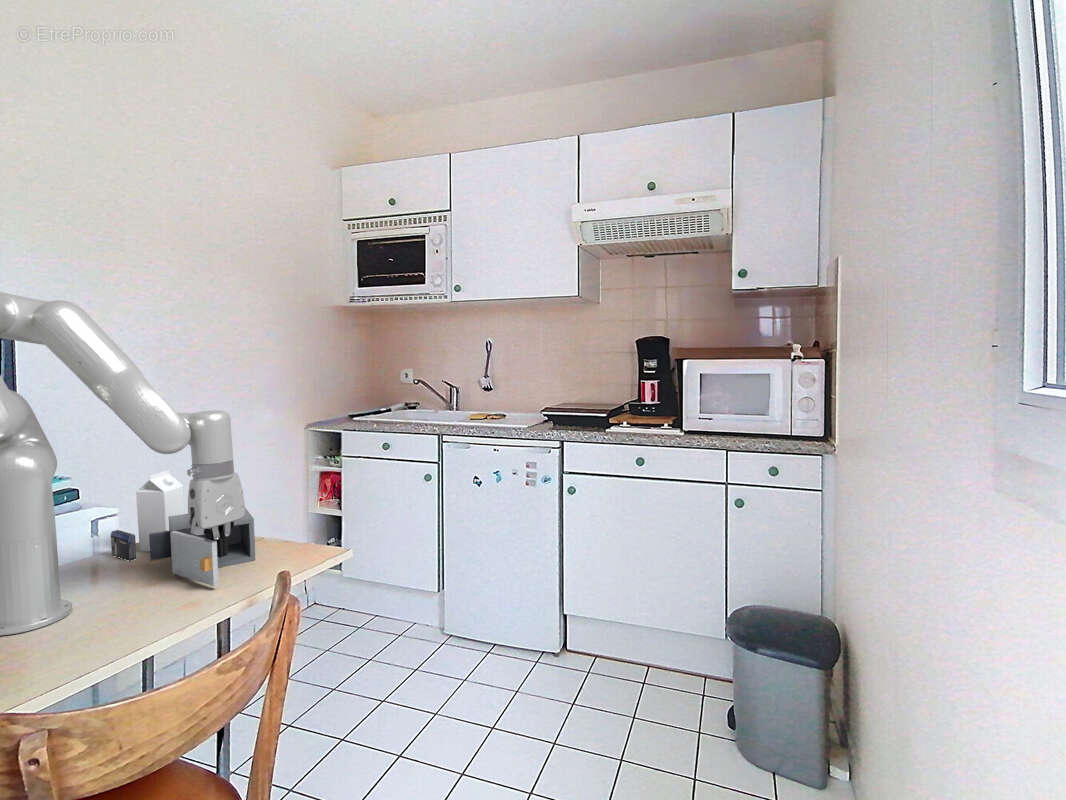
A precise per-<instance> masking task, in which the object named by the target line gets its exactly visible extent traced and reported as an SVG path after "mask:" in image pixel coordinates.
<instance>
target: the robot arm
mask: <svg viewBox="0 0 1066 800" xmlns="http://www.w3.org/2000/svg"><path fill="white" fill-rule="evenodd" d="M0 339H2V340H3V339H4V340H10V341H11V340H12V341H17V342H22V343H28V344H29V343H30V344H36V345H42V346H43V345H44V346H45V347H46V348H48V350H49V351H50V352H51V353H53V355H55V356H56V358H58V359H59V360H60V361H61V363H63V364H64V365H65V366H66V367H67V368H68V369H69V370H70V371H71V372H72V373H73V374H74V375H75V376H76V377H77V378H78V379H79V380H80V381H81V382H82V383H83V384H84V385H85V386H86V387H87V388H88V390H90V391H91V392H92V393H93V395H94V396H95V397H96V398H98V400H99V401H101V402H102V403H103V404H105V405H106V406H107V407H108V408H109V409H110V410H111V411H112V412H113V413H114V414H115V415H116V416H117V417H118V418H119V419H120V420H121V421H122V423H124V424H125V425H126V426H127V427H128V428H129V429H130V430H131V431H132V432H133V433H134V435H136V436H137V437H138V438H139V439H140V440H141V441H142V442H143V443H144V444H145V445H146V446H147V447H148V448H149V449H150V450H151V451H154V452H156V453H158V454H162V455H172V454H176V453H178V452H181V451H182V450H184V449H185V448H186V447H187V446H188V445H189V446H190V452H191V453H190V454H191V468H189V469H187V470H186V474H187V476H188V477H191V476H192V479H190V480H189V485H188V495H187V514H188V520H189V524H190V526H192V527H191V534H193V535H204V536H206V538H209V540H213V541H217V557H219V558H221V557H223V556H226V555H228V551H227V549H228V542H227V536H229V535H230V530H231V529H232V527H233V526H234V525H235V524H237V523H239V522H241V520H242V517H243V516H244V515H245V508H246V505H245V496H244V491H243V490H244V489H243V486H242V483H241V478H240V477H239V473H238V472H235V468H234V467H235V464H234V456H233V453H234V452H233V450H234V449H233V438H232V437H233V436H232V424H231V423H232V422H231V421H232V419H231V415H230V414H229V413H228V412H227V411H225V410H204V411H202V410H201V411H197V412H177V411H176V410H174V408H173V407H172V406H171V405H170V404H169V403H168V402H167V401H166V400H165V398H163V397H162V396H161V395H160V394H159V393H158V391H156V389H155V388H154V387H153V386H152V384H151V383H150V382H149V381H148V380H147V379H146V377H145V376H144V374H143V372H142V371H141V369H140V368H139V367H138V366H137V365H136V364H135V362H134V361H133V360H132V359H131V358H130V357H129V356H128V355H127V353H125V352H124V351H123V350H122V348H120V347H119V346H118V344H117V343H115V341H114V340H113V338H111V336H109V335H108V334H107V333H106V332H105V331H104V330H103V329H102V328H101V327H100V326H99V325H98V323H96V321H95V320H94V319H93V318H92V317H91V316H90V315H89V314H88V313H87V312H86V311H85V310H84V309H83V308H82V307H80V306H79V305H78V304H76V303H73V302H71V301H68V300H58V299H57V300H51V301H48V300H44V299H43V300H42V299H36V298H32V297H27V296H22V295H21V296H20V295H17V294H13V293H7V292H2V291H0ZM57 468H58V459H57V456H56V453H55V451H54V449H53V447H52V445H51V443H50V442H49V439H48V438H47V435H46V434H45V432H44V430H43V427H42V426H41V424H40V422H39V420H38V418H37V416H36V414H35V411H33V409H32V407H31V405H30V404H29V402H28V401H27V400H26V399H25V397H23V396H22V395H21V394H20V393H18V392H16V391H15V390H12V389H9V387H8V386H7V384H6V383H5V381H4V378H3V377H2V376H1V374H0V636H8V635H15V634H20V633H24V632H29V631H32V630H37V629H39V628H43V627H45V626H48V625H51V624H54V623H56V622H59V621H60V620H62V619H64V618H65V617H67V616H69V615H70V614H71V612H72V611H73V603H72V602H71V601H70V600H68V599H62V598H61V597H62V596H61V584H60V581H61V580H60V571H59V570H60V568H59V553H58V540H57V539H58V538H57V536H58V535H57V527H56V523H57V522H56V515H55V513H56V511H55V502H54V494H53V477H54V476H55V474H56V471H57ZM201 527H202V528H201Z"/></svg>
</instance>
